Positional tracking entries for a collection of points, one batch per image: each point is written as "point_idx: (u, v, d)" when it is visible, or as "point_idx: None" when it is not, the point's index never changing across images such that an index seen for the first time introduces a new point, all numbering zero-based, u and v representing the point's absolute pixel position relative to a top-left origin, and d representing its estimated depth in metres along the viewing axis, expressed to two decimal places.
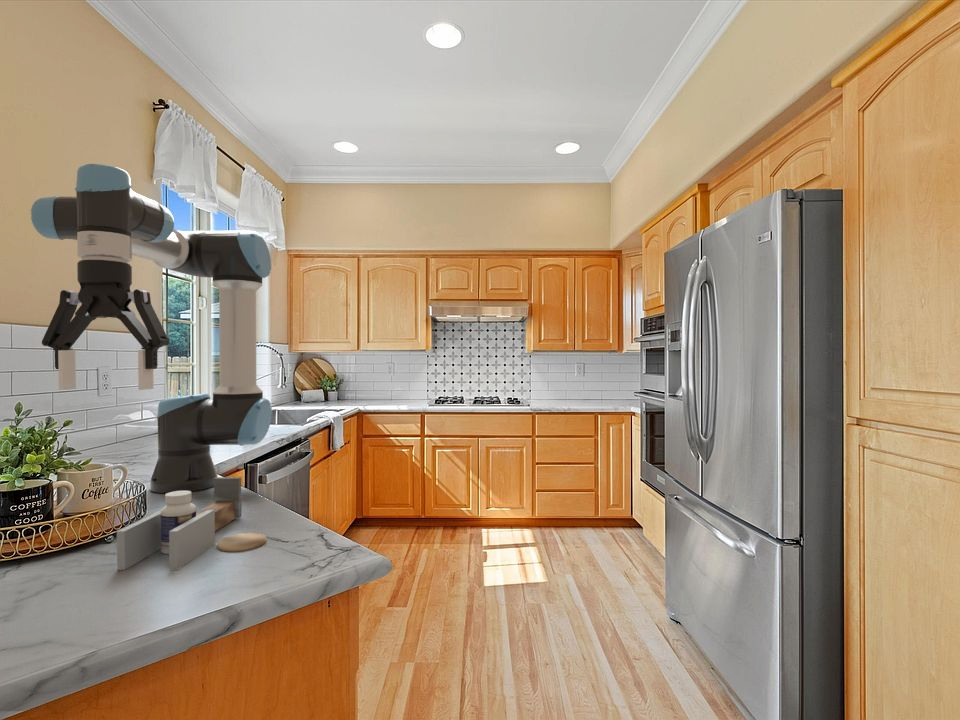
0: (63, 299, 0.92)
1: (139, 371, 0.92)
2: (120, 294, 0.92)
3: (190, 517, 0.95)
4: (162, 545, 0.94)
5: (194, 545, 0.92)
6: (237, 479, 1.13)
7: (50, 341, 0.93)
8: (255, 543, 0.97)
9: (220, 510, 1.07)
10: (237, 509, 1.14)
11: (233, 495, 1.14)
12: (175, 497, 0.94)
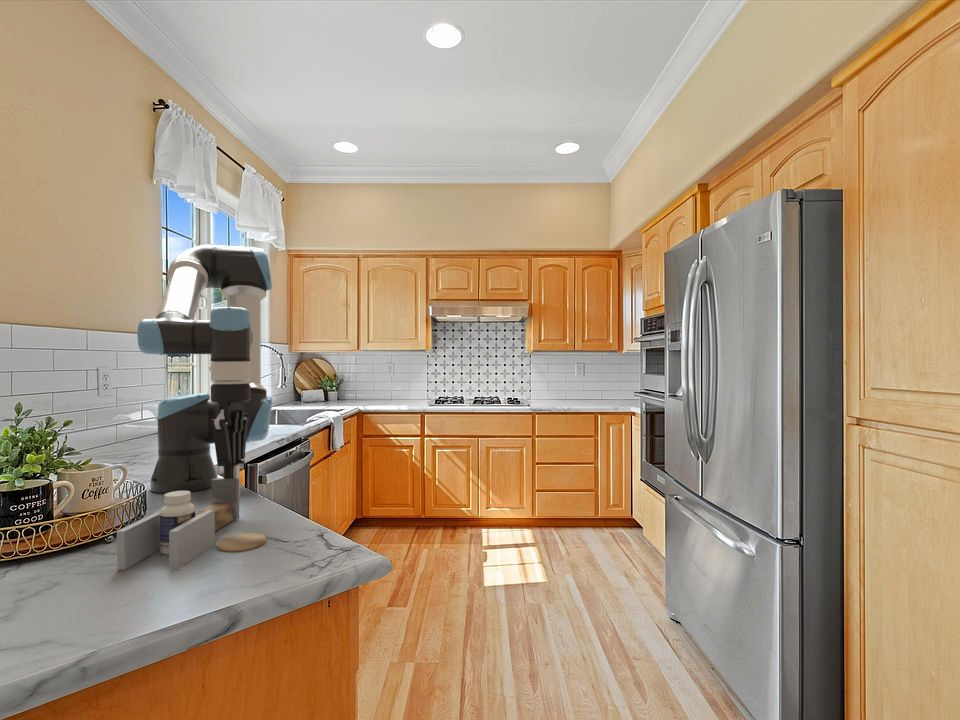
0: None
1: None
2: None
3: (189, 517, 0.95)
4: (161, 545, 0.94)
5: (194, 545, 0.92)
6: (235, 480, 1.12)
7: None
8: (255, 543, 0.97)
9: (217, 512, 1.06)
10: (235, 510, 1.12)
11: (231, 496, 1.12)
12: (174, 497, 0.94)
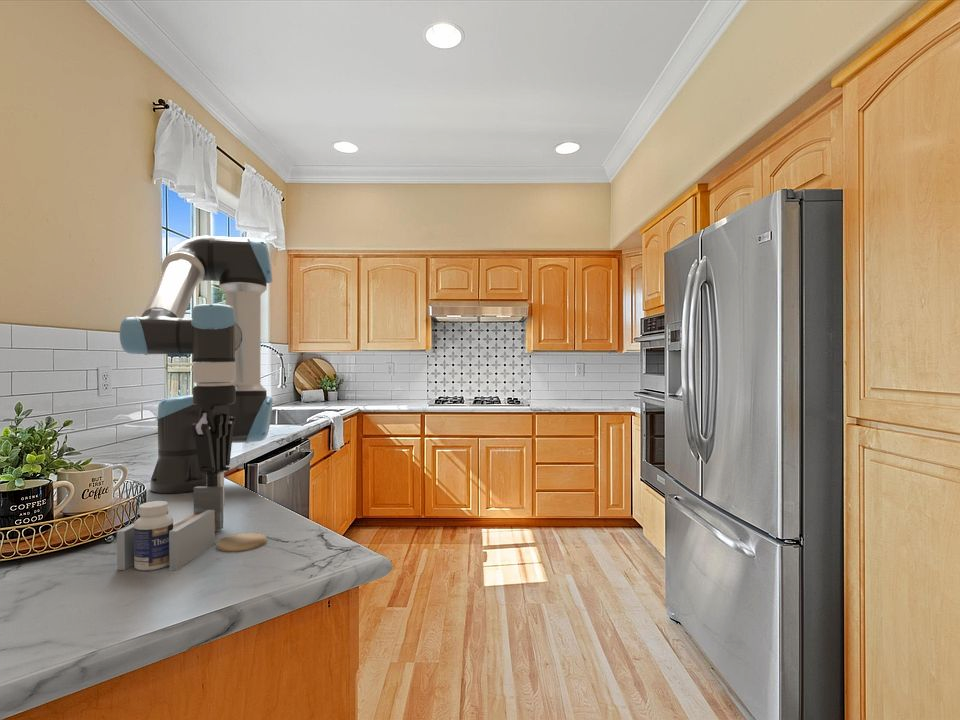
0: None
1: None
2: None
3: (166, 530, 0.88)
4: (135, 560, 0.87)
5: (194, 545, 0.92)
6: (218, 488, 1.06)
7: None
8: (255, 543, 0.97)
9: None
10: (218, 521, 1.06)
11: (214, 506, 1.06)
12: (149, 509, 0.87)
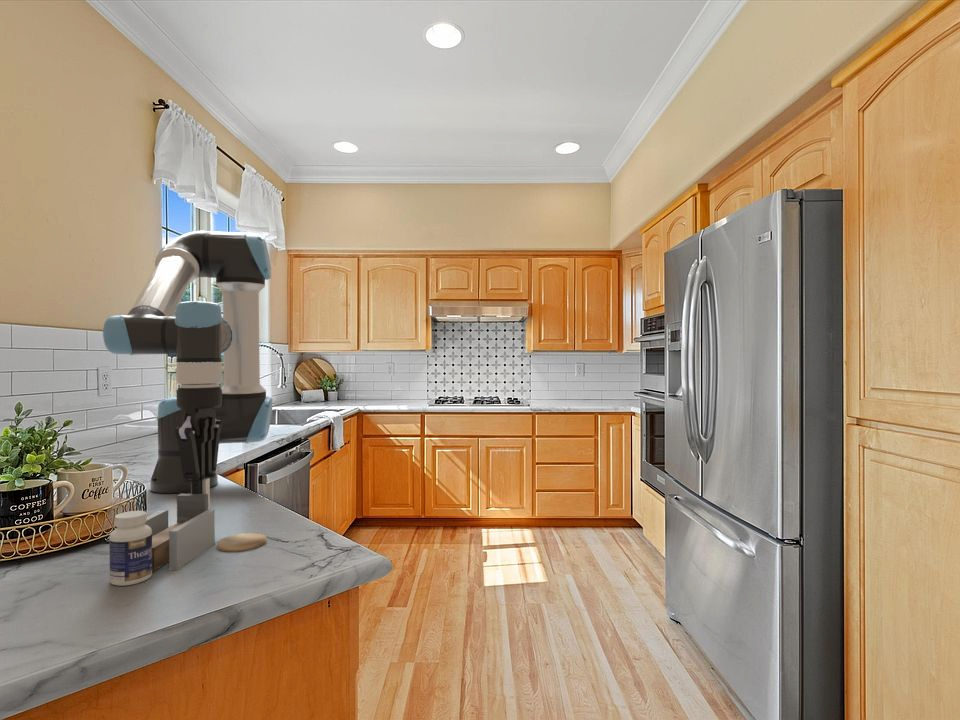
0: None
1: None
2: None
3: (143, 542, 0.82)
4: (111, 575, 0.81)
5: (194, 545, 0.92)
6: (203, 496, 1.00)
7: None
8: (255, 543, 0.97)
9: None
10: None
11: None
12: (126, 520, 0.81)
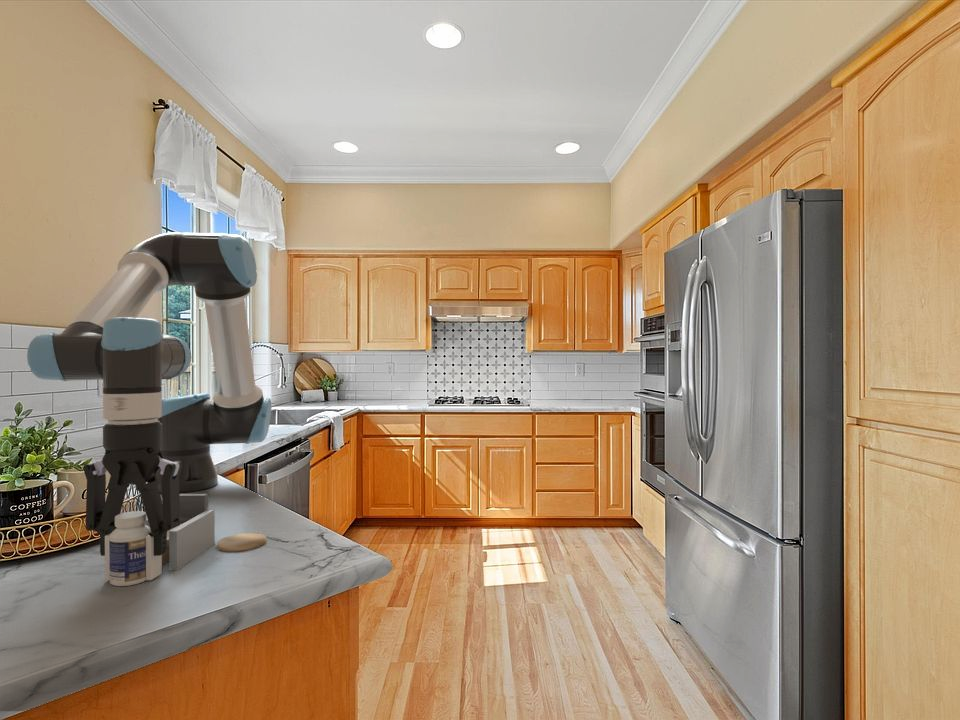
0: (89, 474, 0.83)
1: (147, 559, 0.82)
2: (151, 461, 0.83)
3: (143, 543, 0.82)
4: (110, 575, 0.81)
5: (194, 545, 0.92)
6: (203, 496, 1.00)
7: (94, 523, 0.83)
8: (255, 543, 0.97)
9: None
10: None
11: (198, 514, 1.00)
12: (126, 520, 0.81)
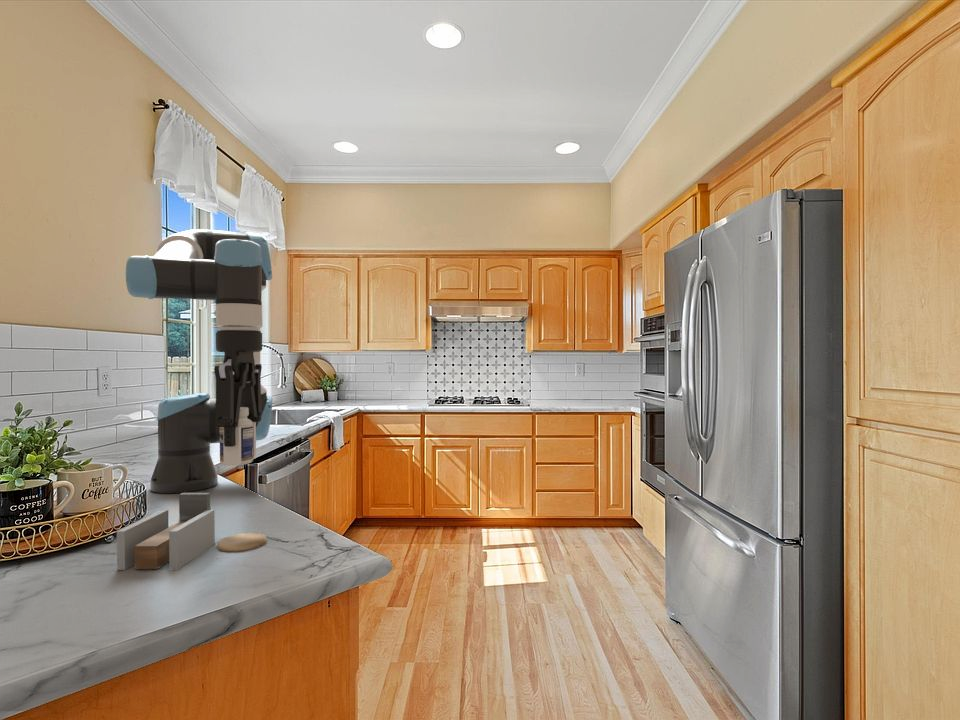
0: None
1: (225, 447, 0.96)
2: None
3: None
4: None
5: (194, 545, 0.92)
6: (205, 495, 1.01)
7: None
8: (255, 543, 0.97)
9: None
10: None
11: None
12: None
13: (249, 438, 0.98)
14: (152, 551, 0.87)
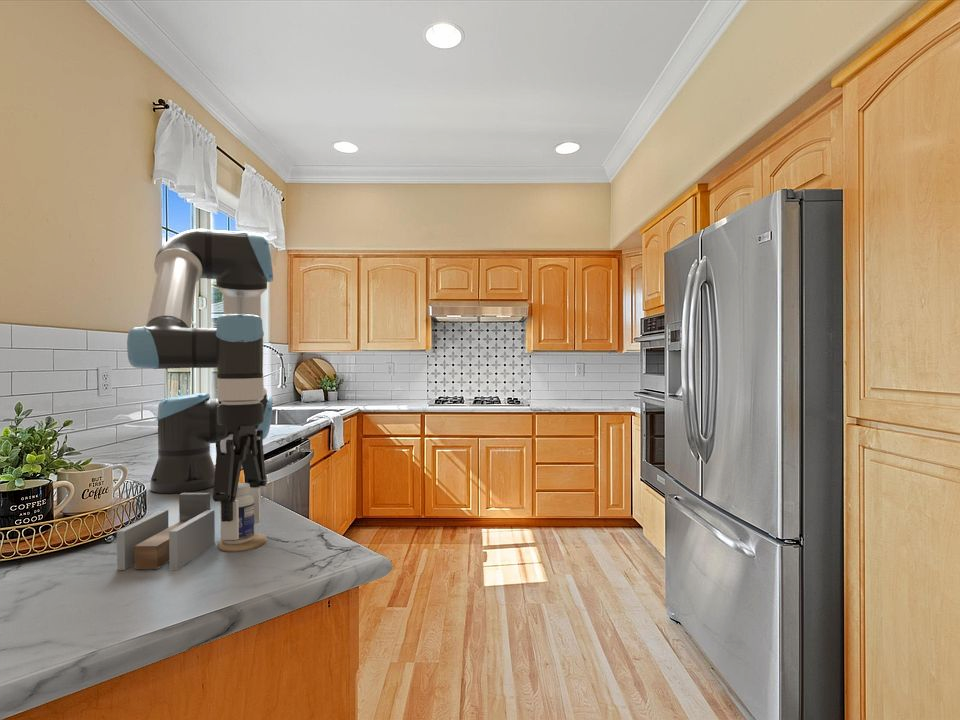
0: None
1: (222, 521, 0.94)
2: None
3: None
4: None
5: (194, 545, 0.92)
6: (205, 495, 1.01)
7: None
8: (255, 543, 0.97)
9: None
10: None
11: None
12: None
13: (250, 515, 0.98)
14: (152, 551, 0.87)
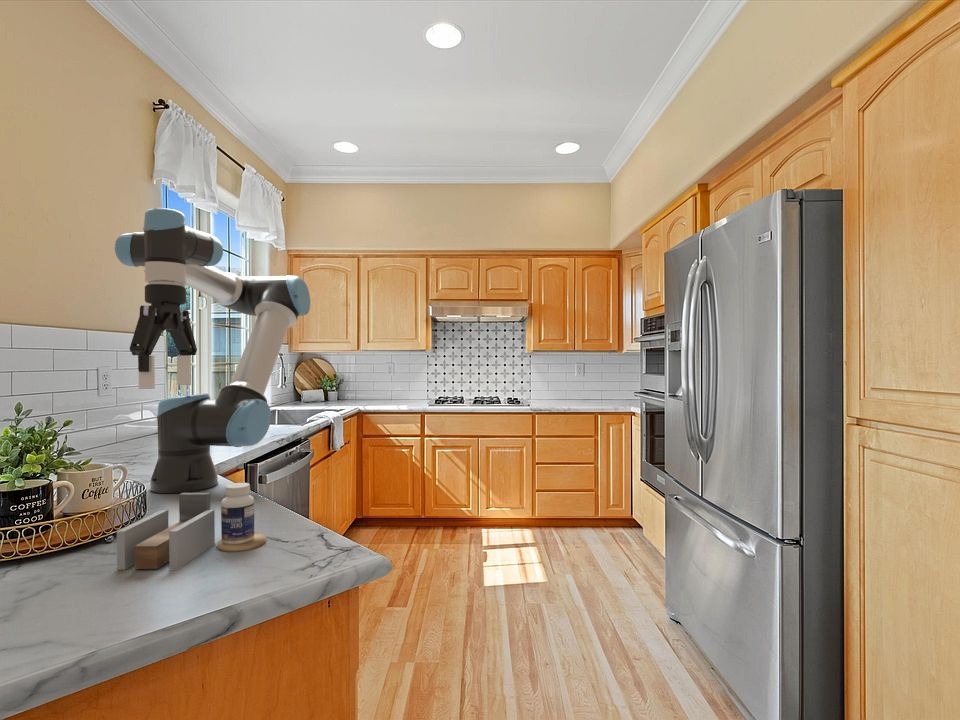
0: None
1: None
2: None
3: (225, 511, 0.96)
4: None
5: (194, 545, 0.92)
6: (205, 495, 1.01)
7: None
8: (255, 543, 0.97)
9: None
10: None
11: None
12: (225, 487, 0.98)
13: (250, 515, 0.98)
14: (152, 551, 0.87)
